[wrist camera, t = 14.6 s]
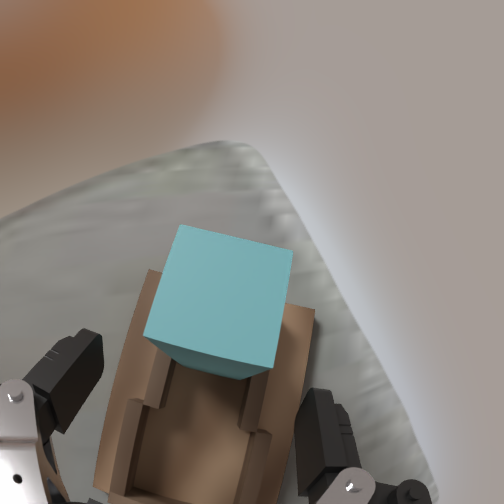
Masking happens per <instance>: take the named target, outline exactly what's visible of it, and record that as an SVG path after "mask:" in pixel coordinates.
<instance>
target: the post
mask: <svg viewBox="0 0 504 504" xmlns="http://www.w3.org/2000/svg"><path fill="white" fill-rule="evenodd" d="M292 256H293V251H291V250H287V249H283V248H279V247H275V246H270V245H266V244H262V243H258V242H254V241H249V240H245V239H241V238H237V237H233V236H228V235H224V234H220V233H216V232H211V231H207V230H203V229H198V228H194V227H190V226H185V225H181V224H180V226H179V229H178V231H177V234H176V237H175V240H174V242H173V245H172V248H171V251H170V253H169V256H168V259H167V262H166V265H165V268H164V271H163V273H162V276H161V279H160V282H159V285H158V288H157V291H156V295H155V298H154V301H153V304H152V307H151V310H150V313H149V317H148V320H147V323H146V327H145V330H144V333H143V336H144V337H145V338H146V339H148V340H149V341H150V342H151V343H153V344H154V345H155V346H157V347H158V348H159V349H160V350H162V351H163V352H164V353H166V354H167V355H168V356H170V357H171V358H172V359H174V360H175V361H176V362H178V363H179V364H180V365H182V366H184V367H187V368H191V369H195V370H199V371H202V372H206V373H211V374H215V375H219V376H223V377H228V378H232V379H237V380H242V379H245V378H247V377H250V376H253V375H256V374H259V373H261V372H264V371H267V370H269V369H272V368H273V365H274V360H275V355H276V350H277V344H278V339H279V333H280V328H281V322H282V317H283V311H284V305H285V299H286V293H287V287H288V281H289V275H290V269H291V262H292Z"/></svg>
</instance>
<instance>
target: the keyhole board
mask: <svg viewBox="0 0 504 504" xmlns="http://www.w3.org/2000/svg"><path fill="white" fill-rule="evenodd" d="M161 276H162V273H161V272H157V271H153V270H150V269H149V270H148V273H147V276H146V279H145V282H144V284H143V287H142V290H141V293H140V296H139V299H138V302H137V305H136V308H135V311H134V314H133V317H132V321H131V324H130V327H129V330H128V333H127V337H126V340H125V343H124V347H123V350H122V354H121V357H120V361H119V365H118V368H117V372H116V376H115V380H114V383H113V387H112V391H111V395H110V400H109V404H108V408H107V412H106V417H105V421H104V426H103V431H102V436H101V441H100V446H99V451H98V457H97V463H96V469H95V475H94V482H93V487H95V488H97V489H99V490H102V491H104V492H106V493H109V497H108V503H111V504H276V503H277V499H278V495H279V492H280V488H281V484H282V480H283V476H284V472H285V468H286V464H287V460H288V456H289V451H290V447H291V443H292V438H293V434H294V422H295V417H296V414H297V412H298V410H299V405H300V400H301V394H302V389H303V384H304V378H305V372H306V366H307V361H308V354H309V348H310V342H311V335H312V329H313V322H314V315H315V309H310V308H306V307H301V306H296V305H292V304H287V303H285V305H284V311H283V317H282V322H281V328H280V333H279V339H278V344H277V350H276V355H275V360H274V365H273V368H272V369H269V370H267V371H264V372H261V373H259V374H256V375H253V376H250V377H247V378H245V379H242V380H237V379H232V378H228V377H223V376H219V375H215V374H211V373H206V372H202V371H199V370H195V369H191V368H187V367H184V366H182V365H180V364H179V363H178V362H176V361H175V360H174V359H172V358H171V357H170V356H168V355H167V354H166V353H164V352H163V351H162V350H160V349H159V348H158V347H157V346H155V345H154V344H153V343H151V342H150V341H149V340H148V339H146V338H145V337H144V336H143V333H144V330H145V327H146V323H147V320H148V317H149V313H150V310H151V307H152V304H153V301H154V298H155V295H156V291H157V288H158V285H159V282H160V279H161Z"/></svg>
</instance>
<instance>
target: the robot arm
mask: <svg viewBox="0 0 504 504" xmlns="http://www.w3.org/2000/svg"><path fill="white" fill-rule="evenodd" d="M103 370H104V356H103V341H102V336H101V335H100V334H98V333H95V332H93V331H90V330H87V329H85V328H83V329H81V330H80V331H79V332H78V333H77V334H76V336H75V337H74V338H73V337H71V336H68V337H66V338H64V339H62V340H60V341H58V342H57V343H56V344H55V345H54V346H53V347H52V348H51V351H50V350H49V351H48V352H47V353H46V355H45V357H43V358H42V359H41V360H40V361H39V362H38V363H37V364H36V365H35V366H34V367H33V368H32V369H31V371H30V372H29V373H28V374H27V375H26V376H25V377H24V378H23V379H22V380H20V379H11V380H8V381H6V382H4V383H3V384H0V504H102V503H100V502H97V501H95V500H93V499H91V498H89V500H88V502H87V503H80V502H70V500H69V497H68V494H67V492H66V489H65V487H64V485H63V483H62V480H61V477H60V473H59V469H58V465H57V461H56V457H55V452H54V448H53V443H52V438H51V434H52V433H53V431H54V430H56V431H58V432H60V433H62V434H65V432H66V430H67V429H68V427H69V426H70V424H71V422H72V421H73V419H74V418H75V416H76V414H77V413H78V411H79V410H80V408H81V407H82V405H83V404H84V402H85V401H86V399H87V397H88V396H89V394H90V393H91V391H92V390H93V388H94V387H95V385H96V384H97V382H98V381H99V379H100V378H101V376H102V373H103ZM350 426H351V424H350V420H349V416H348V413H347V412H346V411H345V409H344V408H343V407H342V405H341V404H334V400H333V396H332V392H331V391H330V390H326V389H317V388H310V389H309V391H308V392H307V394H306V396H305V398H304V400H303V402H302V404H301V406H300V408H299V410H298V412H297V414H296V417H295V422H294V433H295V448H296V463H297V480H298V496H304V497H309V504H432V502H431V498H430V495H429V491H428V489H427V487H426V486H425V485H424V484H423V483H421V482H420V481H417V480H413V479H410V480H406V481H403V482H402V483H401V484H400V485H398V486H393V485H388V484H383V483H378V482H375V481H374V478H373V477H372V476H371V474H370V473H368V472H367V471H365V470H363V469H362V468H361V464H360V460H359V456H358V452H357V448H356V443H355V439H354V436H353V431H352V428H351V427H350Z"/></svg>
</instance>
